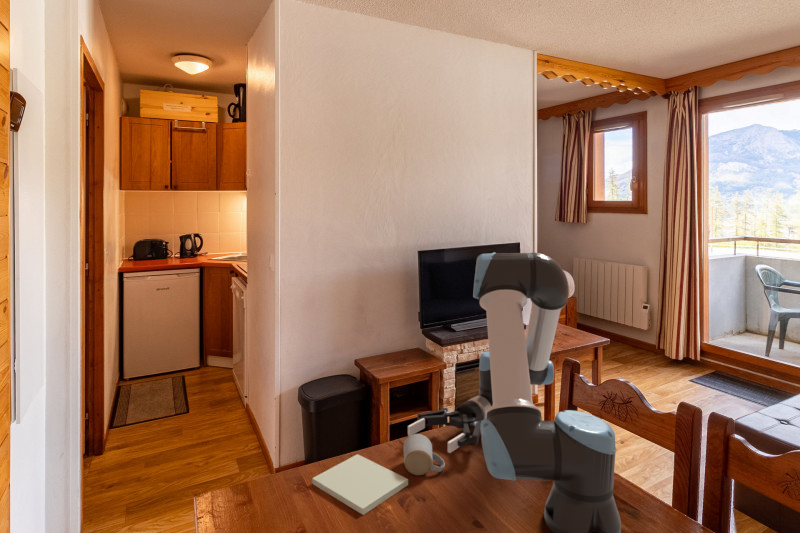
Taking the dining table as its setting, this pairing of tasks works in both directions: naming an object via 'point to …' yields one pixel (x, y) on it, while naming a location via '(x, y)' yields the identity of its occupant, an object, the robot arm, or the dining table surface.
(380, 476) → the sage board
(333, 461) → the dining table surface
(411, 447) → the ceramic mug
